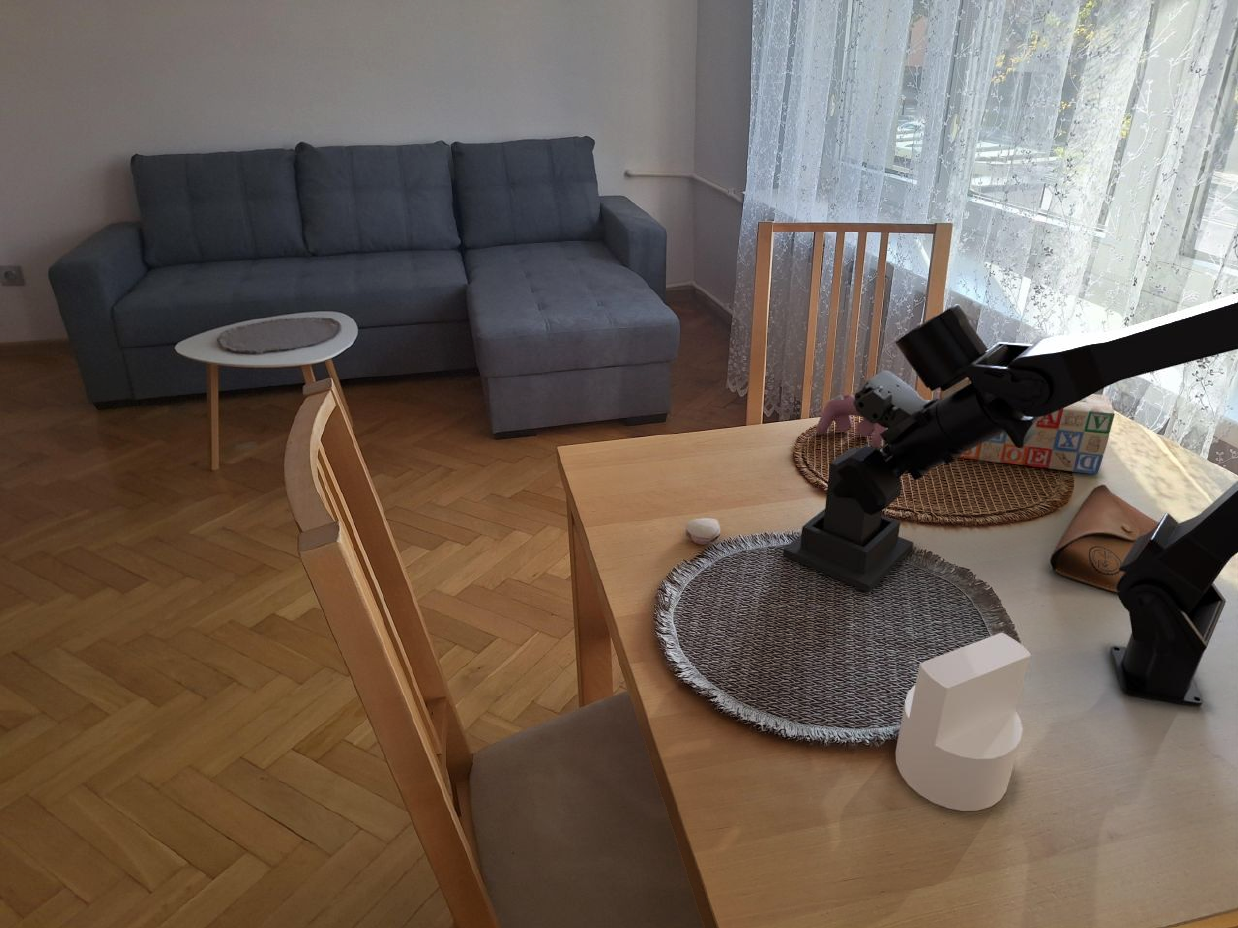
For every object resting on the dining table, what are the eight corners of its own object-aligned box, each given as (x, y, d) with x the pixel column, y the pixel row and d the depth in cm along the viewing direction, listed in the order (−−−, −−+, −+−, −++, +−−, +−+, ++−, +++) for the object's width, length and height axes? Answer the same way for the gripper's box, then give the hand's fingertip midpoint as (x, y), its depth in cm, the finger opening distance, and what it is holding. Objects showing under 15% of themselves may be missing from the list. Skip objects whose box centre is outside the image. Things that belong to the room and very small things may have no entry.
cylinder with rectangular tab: (947, 827, 66) (974, 716, 60) (873, 746, 73) (891, 641, 67) (1032, 787, 69) (1065, 678, 63) (953, 713, 76) (976, 610, 70)
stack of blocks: (1092, 455, 117) (1115, 374, 111) (1098, 476, 112) (1122, 392, 106) (932, 435, 124) (945, 358, 118) (930, 454, 119) (944, 374, 113)
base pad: (912, 549, 98) (917, 520, 97) (868, 592, 92) (872, 563, 90) (830, 517, 105) (833, 490, 103) (782, 555, 98) (785, 527, 96)
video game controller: (885, 450, 123) (896, 404, 123) (878, 449, 119) (890, 401, 119) (821, 435, 128) (832, 390, 127) (812, 433, 124) (824, 388, 123)
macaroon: (679, 541, 101) (679, 523, 100) (700, 522, 105) (701, 505, 104) (709, 552, 99) (710, 535, 98) (730, 533, 102) (731, 516, 101)
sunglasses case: (1132, 595, 89) (1111, 540, 88) (1063, 600, 94) (1043, 549, 93) (1163, 521, 101) (1144, 472, 100) (1101, 530, 106) (1082, 483, 105)
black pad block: (879, 534, 97) (890, 459, 92) (859, 552, 94) (869, 476, 89) (842, 520, 100) (850, 447, 95) (821, 537, 97) (829, 462, 92)
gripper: (949, 332, 89) (846, 399, 101) (865, 386, 78) (760, 455, 90) (1009, 417, 88) (898, 475, 100) (933, 486, 77) (818, 542, 89)
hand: (845, 483), depth 95 cm, fingers closed on black pad block, 5 cm apart
